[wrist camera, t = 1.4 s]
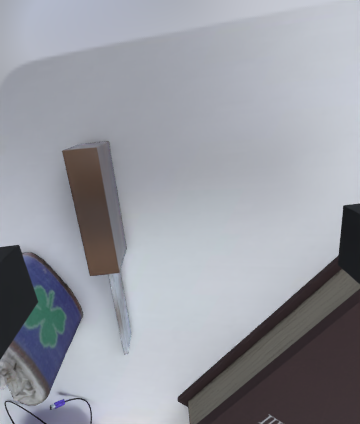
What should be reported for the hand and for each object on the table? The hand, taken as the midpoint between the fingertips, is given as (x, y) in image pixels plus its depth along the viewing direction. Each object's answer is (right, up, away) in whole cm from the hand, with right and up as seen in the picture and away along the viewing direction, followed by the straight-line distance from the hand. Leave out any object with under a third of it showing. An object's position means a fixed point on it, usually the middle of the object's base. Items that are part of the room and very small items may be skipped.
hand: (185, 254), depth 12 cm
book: (+16, -16, +22) cm, 32 cm away
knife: (-6, -2, +15) cm, 17 cm away
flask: (-13, -6, +16) cm, 22 cm away
